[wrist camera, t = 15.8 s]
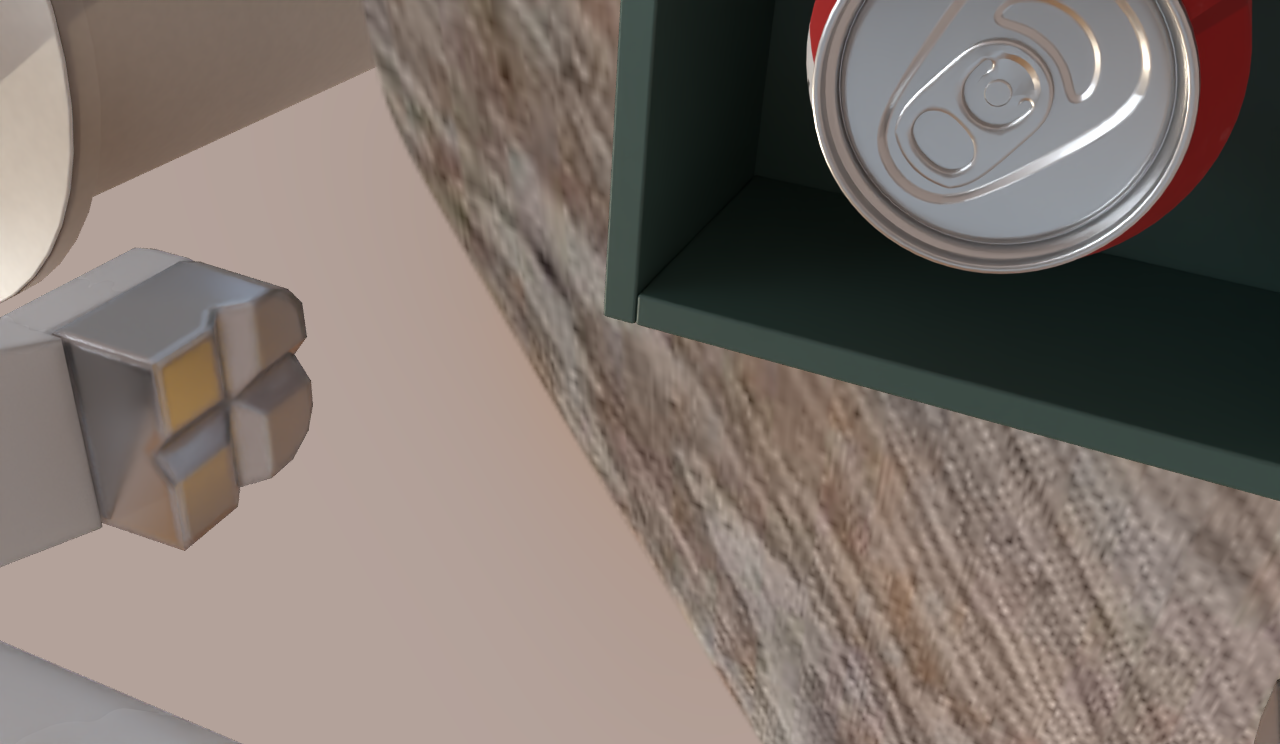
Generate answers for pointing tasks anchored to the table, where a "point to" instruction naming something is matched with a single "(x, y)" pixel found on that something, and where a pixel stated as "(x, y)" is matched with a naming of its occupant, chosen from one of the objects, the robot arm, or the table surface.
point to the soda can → (1023, 118)
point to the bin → (931, 292)
